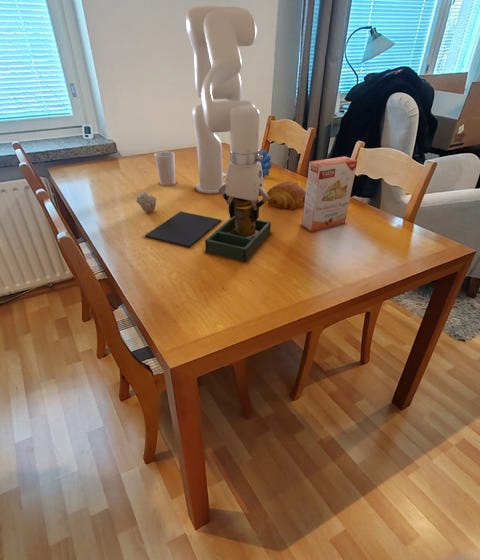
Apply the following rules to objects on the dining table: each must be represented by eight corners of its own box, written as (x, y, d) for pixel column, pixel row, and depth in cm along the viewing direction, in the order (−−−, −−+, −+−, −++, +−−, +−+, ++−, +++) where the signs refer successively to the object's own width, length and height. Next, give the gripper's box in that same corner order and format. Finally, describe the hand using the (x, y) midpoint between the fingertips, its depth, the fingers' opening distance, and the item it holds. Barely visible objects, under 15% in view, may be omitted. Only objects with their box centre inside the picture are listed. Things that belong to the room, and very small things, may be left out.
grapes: (277, 179, 154) (279, 151, 147) (265, 182, 151) (266, 153, 144) (261, 172, 162) (262, 145, 155) (249, 175, 158) (250, 147, 152)
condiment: (261, 233, 108) (260, 194, 101) (239, 241, 104) (236, 202, 97) (246, 226, 113) (244, 189, 106) (225, 234, 109) (221, 196, 102)
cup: (154, 184, 148) (150, 155, 141) (164, 178, 154) (161, 150, 148) (171, 187, 146) (167, 157, 139) (180, 181, 152) (178, 152, 145)
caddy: (234, 226, 116) (234, 214, 114) (270, 233, 111) (270, 222, 109) (205, 252, 102) (204, 240, 99) (245, 262, 97) (245, 249, 95)
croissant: (260, 208, 133) (258, 188, 128) (285, 191, 141) (284, 172, 136) (291, 218, 125) (290, 197, 120) (316, 200, 133) (316, 180, 128)
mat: (180, 213, 125) (180, 211, 124) (221, 221, 119) (220, 219, 119) (145, 237, 110) (145, 235, 109) (189, 247, 104) (189, 246, 104)
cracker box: (312, 233, 112) (320, 166, 100) (301, 225, 116) (307, 161, 104) (346, 224, 117) (358, 159, 105) (334, 217, 122) (344, 154, 110)
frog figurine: (136, 210, 127) (133, 191, 123) (156, 207, 129) (153, 188, 125) (139, 216, 122) (136, 197, 118) (160, 213, 124) (157, 194, 120)
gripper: (279, 157, 95) (275, 218, 105) (222, 149, 101) (223, 208, 111) (269, 165, 89) (265, 229, 100) (209, 156, 95) (212, 217, 106)
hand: (243, 217), depth 105 cm, fingers closed on condiment, 6 cm apart
